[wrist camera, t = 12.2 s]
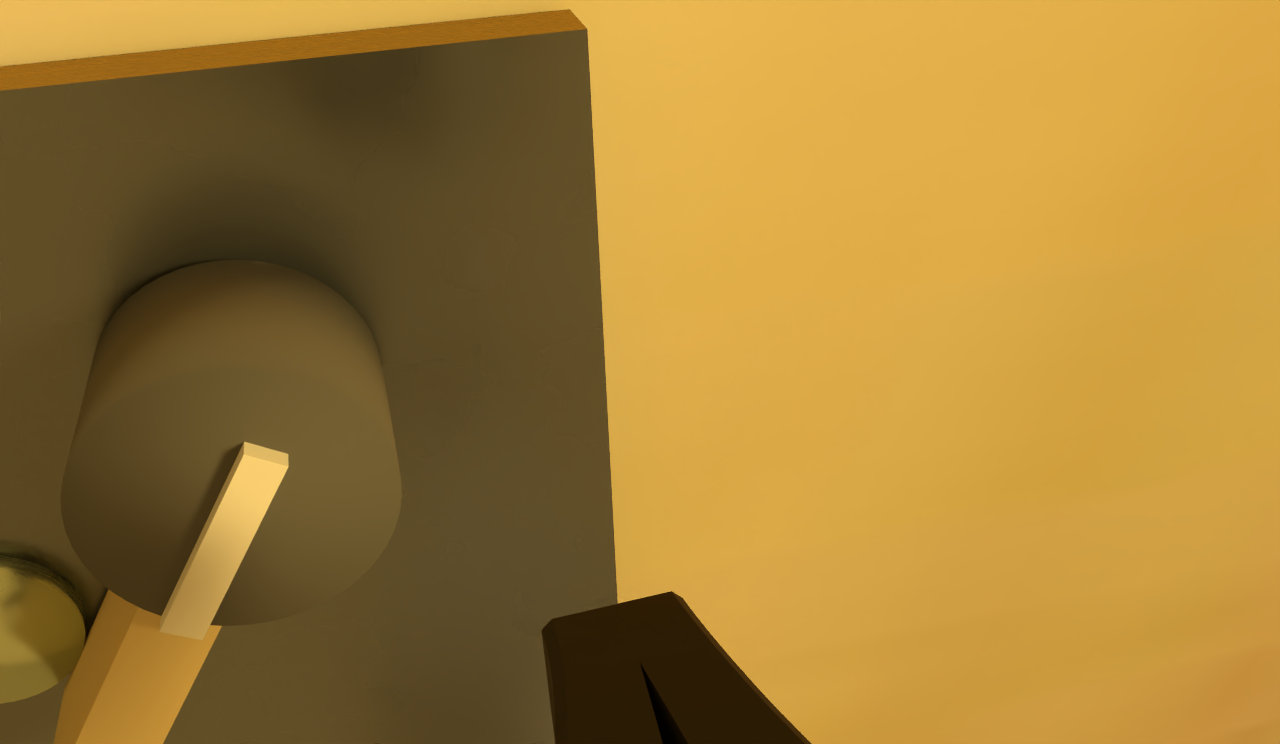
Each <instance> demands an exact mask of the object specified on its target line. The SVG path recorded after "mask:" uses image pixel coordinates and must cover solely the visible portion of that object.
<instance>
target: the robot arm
mask: <svg viewBox="0 0 1280 744" xmlns="http://www.w3.org/2000/svg"><path fill="white" fill-rule="evenodd" d="M541 632H542V640H543V648H544V656H545V665H546V673H547V681H548V689H549V698H550V706H551V714H552V722H553V731H554V739H555V744H811V743H810V742H809V741H808V740H807V739H806V738H805V737H804V736H803V735H802V734H801V733H800V732H799V731H798V730H797V729H796V728H795V727H794V726H793V725H792V724H791V723H790V722H789V721H788V720H787V719H786V718H785V717H784V716H783V715H782V713H781V712H780V711H779V710H778V709H777V708H776V707H775V706H774V705H773V704H772V703H771V702H770V701H769V700H768V699H767V698H766V697H765V695H764V694H763V693H762V692H761V691H760V690H759V689H758V688H757V687H756V686H755V685H754V683H753V682H752V681H751V680H750V679H749V678H748V677H747V676H746V675H745V673H744V672H743V671H742V670H741V669H740V668H739V667H738V666H737V664H736V663H735V662H734V661H733V660H732V659H731V658H730V656H729V655H728V654H727V653H726V652H725V651H724V649H723V648H722V647H721V646H720V645H719V644H718V642H717V641H716V640H715V639H714V638H713V636H712V635H711V634H710V633H709V631H708V630H707V629H706V628H705V627H704V625H703V624H702V623H701V622H700V620H699V619H698V618H697V617H696V615H695V614H694V613H693V611H692V610H691V609H690V608H689V606H688V605H687V604H686V602H685V601H684V600H683V598H682V597H680V596H678V595H677V594H675V593H673V592H672V591H671V592H667V593H662V594H658V595H654V596H649V597H645V598H641V599H636V600H632V601H628V602H623V603H619V604H614V605H610V606H606V607H601V608H597V609H593V610H588V611H584V612H579V613H575V614H571V615H566V616H562V617H558V618H553V619H551V620H550V621H549V622H548V623H547V625H546V626H545V627H544V628H543V629H542V630H541Z"/></svg>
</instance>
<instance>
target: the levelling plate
mask: <svg viewBox="0 0 1280 744" xmlns="http://www.w3.org/2000/svg"><path fill="white" fill-rule="evenodd" d="M218 260H252V261H261V262H267V263H273V264H278V265H281V266H285V267H288V268H291V269H295V270H297V271H300V272H302V273H304V274H307V275H309V276H311V277H314V278H315V279H317V280H319V281H321V282H322V283H324V284H326V285H327V286H329V287H331V288H332V289H333V290H335V291H336V292H337V293H338V294H340V295H341V296H342V297H344V298H345V299H346V300H347V301H348V302H349V303H350V304H351V305H352V306H353V307H354V308H355V309H356V310H357V312H358V313H359V314H360V316H361V317H362V318H363V319H364V321H365V322H366V324H367V325H368V327H369V329H370V331H371V333H372V334H373V336H374V339H375V341H376V344H377V346H378V349H379V352H380V357H381V362H382V367H383V373H384V379H385V385H386V391H387V397H388V403H389V409H390V415H391V421H392V427H393V433H394V439H395V445H396V451H397V458H398V464H399V470H400V476H401V487H402V499H401V507H400V514H399V517H398V521H397V524H396V527H395V530H394V532H393V534H392V536H391V539H390V541H389V543H388V544H387V546H386V548H385V549H384V551H383V552H382V554H381V555H380V557H379V558H378V559H377V561H376V562H375V563H374V564H373V565H372V566H371V568H370V569H369V570H368V571H367V572H366V573H365V574H364V575H363V576H362V577H360V578H359V579H358V580H357V581H356V582H355V583H354V584H352V585H351V586H350V587H348V588H347V589H346V590H344V591H343V592H341V593H340V594H338V595H337V596H335V597H333V598H331V599H330V600H328V601H326V602H324V603H323V604H321V605H318V606H316V607H314V608H311V609H309V610H307V611H305V612H302V613H299V614H296V615H293V616H290V617H287V618H283V619H278V620H274V621H270V622H265V623H257V624H250V625H236V626H222V627H221V629H220V631H219V633H218V635H217V637H216V639H215V641H214V643H213V645H212V647H211V649H210V651H209V653H208V655H207V657H206V659H205V661H204V663H203V665H202V667H201V669H200V671H199V673H198V675H197V677H196V679H195V681H194V683H193V685H192V687H191V689H190V691H189V693H188V695H187V697H186V699H185V701H184V703H183V705H182V707H181V709H180V711H179V713H178V715H177V717H176V719H175V721H174V723H173V725H172V727H171V729H170V731H169V733H168V735H167V737H166V739H165V741H164V743H163V744H555V739H554V731H553V722H552V714H551V706H550V698H549V689H548V681H547V673H546V665H545V656H544V648H543V640H542V632H541V630H542V629H543V628H544V627H545V626H546V625H547V623H548V622H549V621H550V620H551V619H553V618H558V617H562V616H566V615H571V614H575V613H579V612H584V611H588V610H593V609H597V608H601V607H606V606H610V605H614V604H618V603H617V584H616V565H615V546H614V527H613V508H612V489H611V470H610V452H609V433H608V414H607V395H606V376H605V357H604V338H603V319H602V300H601V281H600V262H599V243H598V224H597V205H596V186H595V167H594V148H593V129H592V110H591V91H590V72H589V53H588V34H587V28H586V27H585V26H584V25H583V24H582V23H581V22H580V20H579V19H578V18H577V17H576V16H575V15H574V14H573V13H572V11H571V10H570V9H569V10H559V11H549V12H539V13H529V14H519V15H509V16H499V17H489V18H479V19H469V20H460V21H450V22H440V23H430V24H420V25H410V26H400V27H390V28H380V29H370V30H360V31H351V32H341V33H331V34H321V35H311V36H301V37H291V38H281V39H271V40H261V41H251V42H241V43H232V44H222V45H212V46H202V47H192V48H182V49H172V50H162V51H152V52H142V53H132V54H122V55H113V56H103V57H93V58H83V59H73V60H63V61H53V62H43V63H33V64H23V65H13V66H4V67H0V744H53V743H54V738H55V733H56V728H57V723H58V718H59V713H60V708H61V703H62V698H63V693H64V688H65V685H66V683H67V681H68V679H69V676H70V674H71V672H72V670H73V668H74V667H75V666H76V664H77V663H78V661H79V659H80V657H81V654H82V651H83V648H84V643H85V641H86V638H87V636H88V634H89V632H90V629H91V627H92V625H93V623H94V621H95V618H96V616H97V614H98V612H99V609H100V607H101V605H102V603H103V600H104V598H105V596H106V594H107V591H108V588H106V587H105V586H104V585H103V584H102V583H101V582H99V581H98V580H97V579H96V578H95V577H94V576H93V575H92V574H91V573H90V571H89V570H88V569H87V568H86V567H85V566H84V565H83V564H82V562H81V560H80V559H79V557H78V556H77V554H76V553H75V551H74V550H73V548H72V546H71V543H70V541H69V539H68V536H67V534H66V532H65V527H64V523H63V519H62V515H61V498H60V496H61V488H62V480H63V476H64V472H65V468H66V464H67V460H68V456H69V452H70V448H71V444H72V440H73V436H74V432H75V428H76V424H77V420H78V417H79V413H80V409H81V405H82V401H83V397H84V393H85V389H86V385H87V381H88V377H89V373H90V369H91V365H92V361H93V357H94V354H95V351H96V348H97V344H98V341H99V339H100V337H101V335H102V333H103V331H104V329H105V327H106V325H107V323H108V322H109V321H110V319H111V318H112V316H113V315H114V314H115V312H116V311H117V310H118V309H119V308H120V307H121V306H122V305H123V304H124V303H125V302H126V301H127V299H128V298H130V297H131V296H132V295H133V294H135V293H136V292H137V291H139V290H140V289H141V288H142V287H144V286H145V285H147V284H149V283H151V282H152V281H154V280H156V279H158V278H159V277H161V276H164V275H166V274H168V273H171V272H173V271H175V270H178V269H181V268H185V267H188V266H192V265H195V264H199V263H205V262H212V261H218Z"/></svg>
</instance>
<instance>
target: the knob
mask: <svg viewBox="0 0 1280 744" xmlns="http://www.w3.org/2000/svg"><path fill="white" fill-rule="evenodd" d="M60 498H61V515H62V519H63V523H64V527H65V532H66V534H67V536H68V539H69V541H70V543H71V546H72V548H73V550H74V551H75V553H76V554H77V556H78V557H79V559H80V560H81V562H82V564H83V565H84V566H85V567H86V568H87V569H88V570H89V571H90V573H91V574H92V575H93V576H94V577H95V578H96V579H97V580H98V581H99V582H101V583H102V584H103V585H104V586H105V587H106V588H108V591H107V594H106V596H105V598H104V600H103V603H102V605H101V607H100V609H99V612H98V614H97V616H96V618H95V621H94V623H93V625H92V627H91V629H90V632H89V634H88V636H87V638H86V641H85V643H84V648H83V651H82V654H81V657H80V659H79V661H78V663H77V664H76V666H75V667H74V668H73V670H72V672H71V674H70V676H69V679H68V681H67V683H66V685H65V688H64V693H63V698H62V703H61V708H60V713H59V718H58V723H57V728H56V733H55V738H54V743H53V744H163V743H164V741H165V739H166V737H167V735H168V733H169V731H170V729H171V727H172V725H173V723H174V721H175V719H176V717H177V715H178V713H179V711H180V709H181V707H182V705H183V703H184V701H185V699H186V697H187V695H188V693H189V691H190V689H191V687H192V685H193V683H194V681H195V679H196V677H197V675H198V673H199V671H200V669H201V667H202V665H203V663H204V661H205V659H206V657H207V655H208V653H209V651H210V649H211V647H212V645H213V643H214V641H215V639H216V637H217V635H218V633H219V631H220V629H221V627H222V626H236V625H250V624H257V623H265V622H270V621H274V620H278V619H283V618H287V617H290V616H293V615H296V614H299V613H302V612H305V611H307V610H309V609H311V608H314V607H316V606H318V605H321V604H323V603H324V602H326V601H328V600H330V599H331V598H333V597H335V596H337V595H338V594H340V593H341V592H343V591H344V590H346V589H347V588H348V587H350V586H351V585H352V584H354V583H355V582H356V581H357V580H358V579H359V578H360V577H362V576H363V575H364V574H365V573H366V572H367V571H368V570H369V569H370V568H371V566H372V565H373V564H374V563H375V562H376V561H377V559H378V558H379V557H380V555H381V554H382V552H383V551H384V549H385V548H386V546H387V544H388V543H389V541H390V539H391V536H392V534H393V532H394V530H395V527H396V524H397V521H398V517H399V514H400V507H401V499H402V487H401V476H400V470H399V464H398V458H397V451H396V445H395V439H394V433H393V427H392V421H391V415H390V409H389V403H388V397H387V391H386V385H385V379H384V373H383V367H382V362H381V357H380V352H379V349H378V346H377V344H376V341H375V339H374V336H373V334H372V333H371V331H370V329H369V327H368V325H367V324H366V322H365V321H364V319H363V318H362V317H361V316H360V314H359V313H358V312H357V310H356V309H355V308H354V307H353V306H352V305H351V304H350V303H349V302H348V301H347V300H346V299H345V298H344V297H342V296H341V295H340V294H338V293H337V292H336V291H335V290H333V289H332V288H331V287H329V286H327V285H326V284H324V283H322V282H321V281H319V280H317V279H315V278H314V277H311V276H309V275H307V274H304V273H302V272H300V271H297V270H295V269H291V268H288V267H285V266H281V265H278V264H273V263H267V262H261V261H252V260H218V261H212V262H205V263H199V264H195V265H192V266H188V267H185V268H181V269H178V270H175V271H173V272H171V273H168V274H166V275H164V276H161V277H159V278H158V279H156V280H154V281H152V282H151V283H149V284H147V285H145V286H144V287H142V288H141V289H140V290H139V291H137V292H136V293H135V294H133V295H132V296H131V297H130V298H128V299H127V301H126V302H125V303H124V304H123V305H122V306H121V307H120V308H119V309H118V310H117V311H116V312H115V314H114V315H113V316H112V318H111V319H110V321H109V322H108V323H107V325H106V327H105V329H104V331H103V333H102V335H101V337H100V339H99V341H98V344H97V348H96V351H95V354H94V357H93V361H92V365H91V369H90V373H89V377H88V381H87V385H86V389H85V393H84V397H83V401H82V405H81V409H80V413H79V417H78V420H77V424H76V428H75V432H74V436H73V440H72V444H71V448H70V452H69V456H68V460H67V464H66V468H65V472H64V476H63V480H62V488H61V496H60Z"/></svg>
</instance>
